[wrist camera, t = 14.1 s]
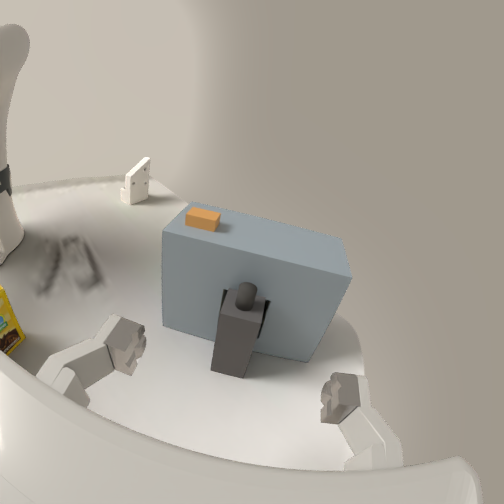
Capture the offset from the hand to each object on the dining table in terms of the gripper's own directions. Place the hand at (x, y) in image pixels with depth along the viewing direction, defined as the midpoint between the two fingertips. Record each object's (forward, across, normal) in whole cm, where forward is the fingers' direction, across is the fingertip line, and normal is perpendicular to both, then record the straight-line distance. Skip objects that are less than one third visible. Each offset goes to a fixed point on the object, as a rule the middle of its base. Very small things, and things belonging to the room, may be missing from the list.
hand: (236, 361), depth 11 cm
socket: (+18, 0, -16) cm, 24 cm away
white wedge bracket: (+47, -31, -17) cm, 59 cm away
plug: (+14, 0, -16) cm, 21 cm away
